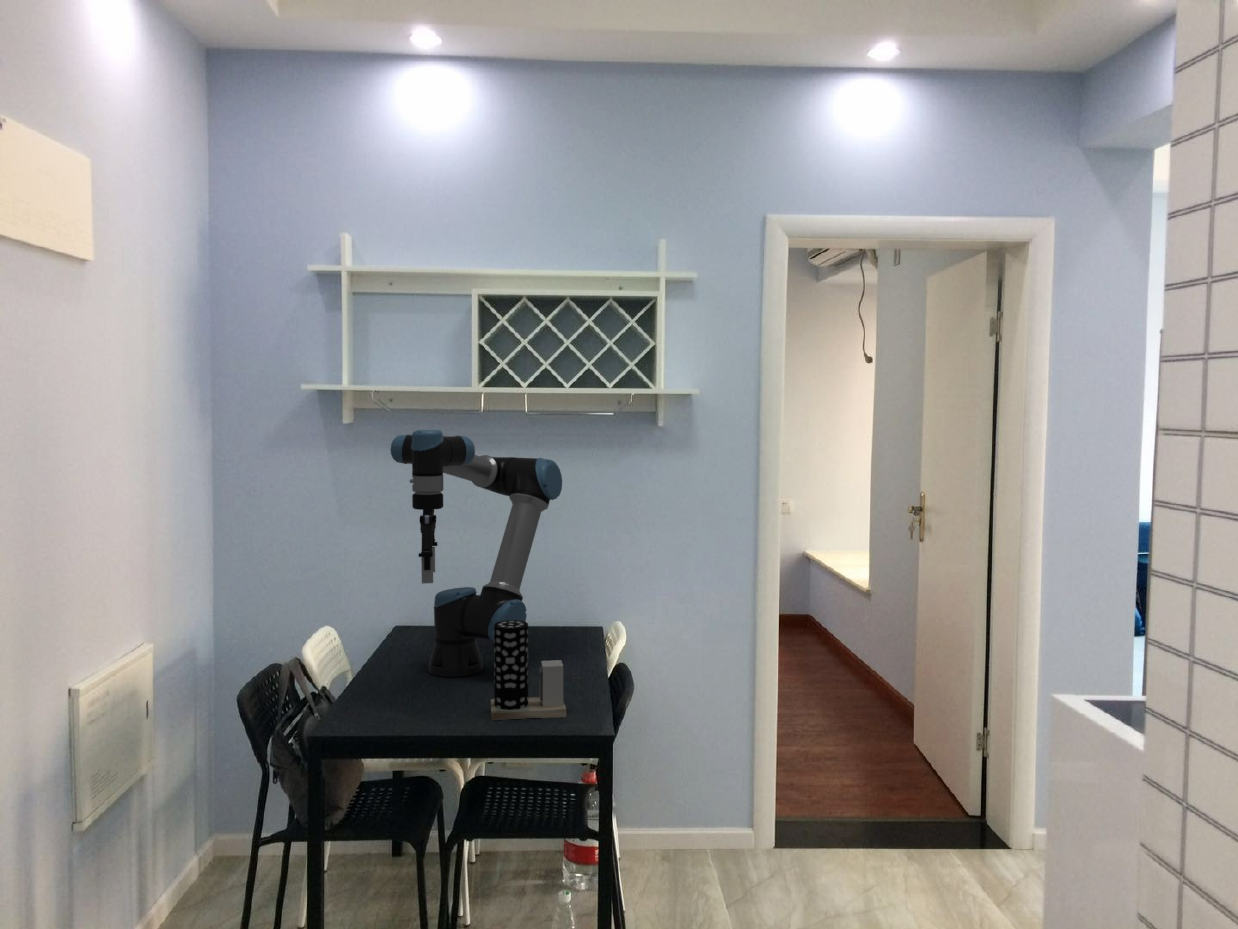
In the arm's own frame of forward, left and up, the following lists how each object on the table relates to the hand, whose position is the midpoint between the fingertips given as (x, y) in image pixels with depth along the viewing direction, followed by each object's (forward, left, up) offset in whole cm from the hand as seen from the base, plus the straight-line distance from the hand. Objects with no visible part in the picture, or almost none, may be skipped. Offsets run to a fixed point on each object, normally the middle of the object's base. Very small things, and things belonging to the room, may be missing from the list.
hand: (428, 577), depth 230 cm
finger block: (+8, +30, -31) cm, 44 cm away
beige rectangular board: (+8, +24, -33) cm, 41 cm away
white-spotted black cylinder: (+8, +20, -31) cm, 37 cm away
